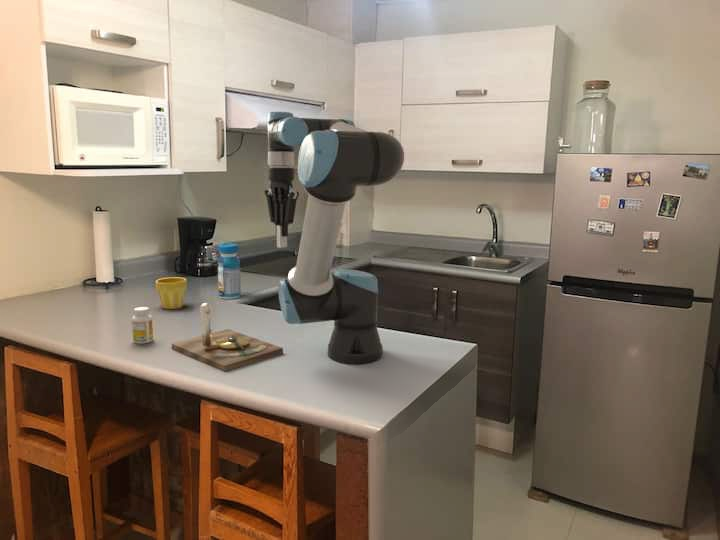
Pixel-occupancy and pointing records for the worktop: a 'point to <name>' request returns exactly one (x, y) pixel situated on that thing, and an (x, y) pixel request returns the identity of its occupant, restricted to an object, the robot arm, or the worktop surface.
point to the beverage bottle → (229, 272)
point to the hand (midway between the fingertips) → (282, 246)
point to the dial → (221, 343)
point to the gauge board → (227, 351)
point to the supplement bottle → (142, 325)
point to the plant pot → (171, 291)
